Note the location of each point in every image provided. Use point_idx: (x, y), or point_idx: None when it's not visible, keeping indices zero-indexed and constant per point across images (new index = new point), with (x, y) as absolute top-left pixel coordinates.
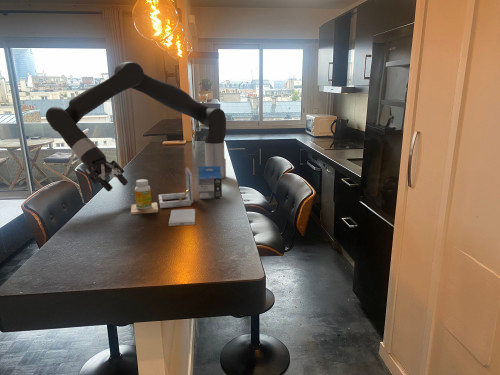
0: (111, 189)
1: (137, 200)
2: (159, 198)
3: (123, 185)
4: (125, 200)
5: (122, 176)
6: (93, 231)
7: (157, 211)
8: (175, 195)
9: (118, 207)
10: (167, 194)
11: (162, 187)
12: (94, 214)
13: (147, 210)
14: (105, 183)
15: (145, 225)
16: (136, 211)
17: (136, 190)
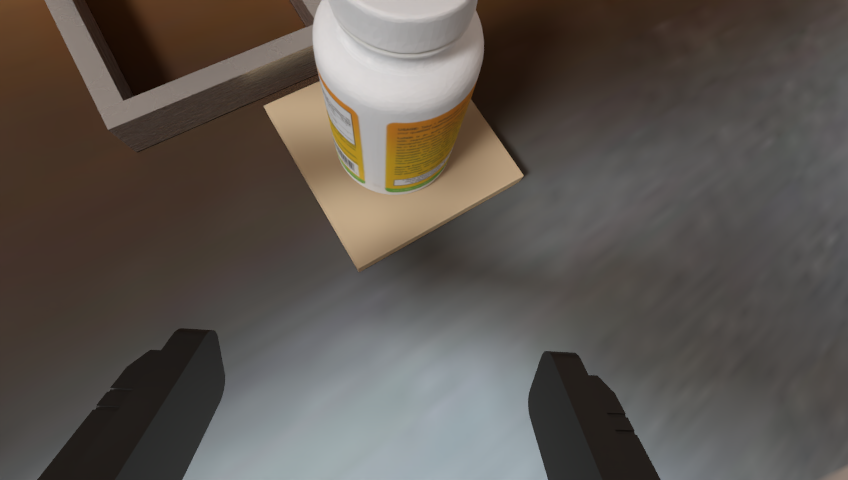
0: (537, 372)
1: (460, 126)
2: (229, 77)
3: (221, 397)
4: None
5: (124, 438)
6: (818, 239)
7: None
8: (84, 17)
9: (398, 369)
10: (94, 61)
11: None
12: None
13: None
14: (631, 456)
15: (637, 28)
16: (496, 149)
17: (480, 68)
